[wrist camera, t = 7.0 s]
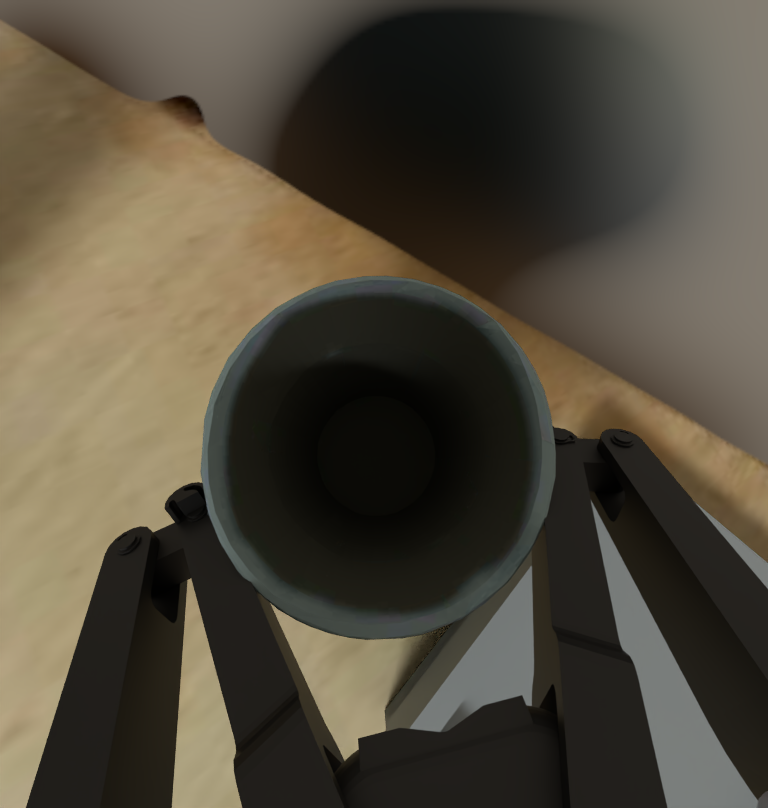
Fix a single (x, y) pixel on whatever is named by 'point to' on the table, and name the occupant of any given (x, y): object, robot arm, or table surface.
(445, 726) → the tray
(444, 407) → the grey green cup
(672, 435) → the table surface
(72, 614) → the table surface
